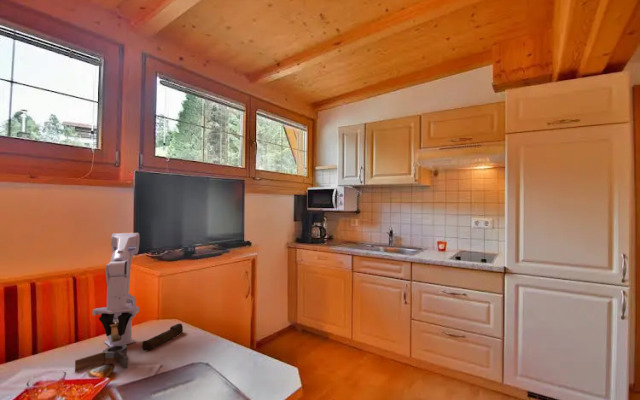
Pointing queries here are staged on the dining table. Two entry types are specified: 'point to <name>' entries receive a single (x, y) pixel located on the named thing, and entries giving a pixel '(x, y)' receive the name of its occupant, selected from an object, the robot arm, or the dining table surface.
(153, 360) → the dining table surface
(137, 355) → the dining table surface
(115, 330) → the bronze pin
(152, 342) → the hand tool
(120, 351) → the grey ring with handle
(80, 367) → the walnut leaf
